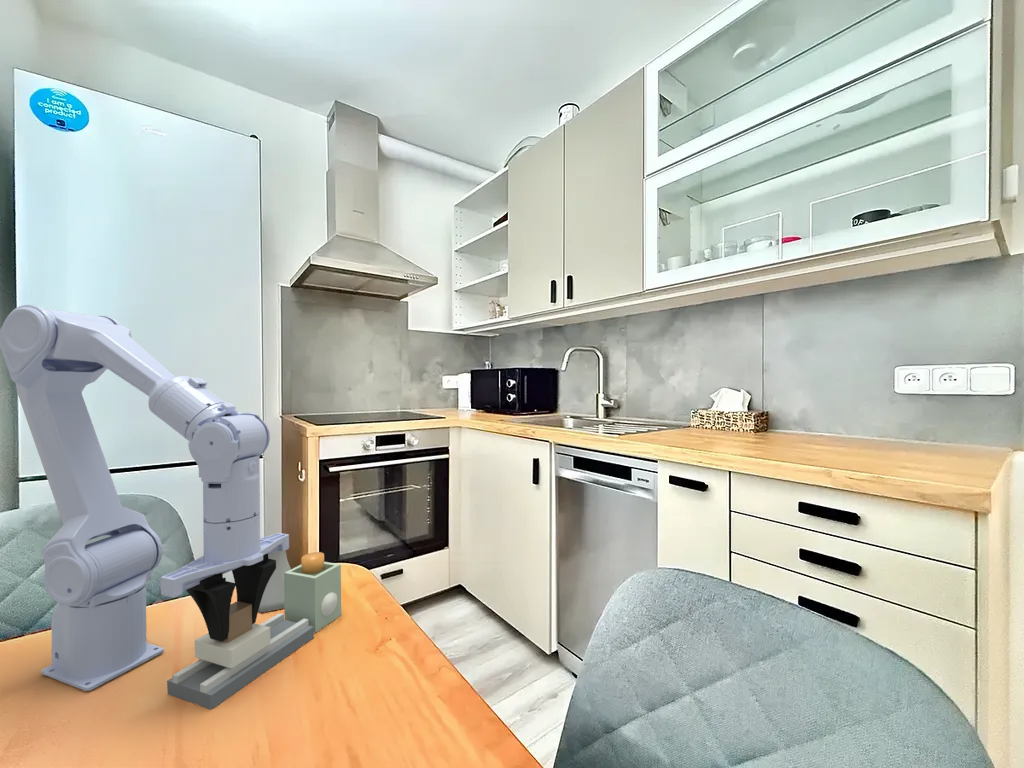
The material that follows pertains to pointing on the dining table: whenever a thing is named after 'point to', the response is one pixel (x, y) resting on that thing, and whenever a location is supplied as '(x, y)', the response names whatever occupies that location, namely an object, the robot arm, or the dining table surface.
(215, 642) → the carriage
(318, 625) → the cabinet
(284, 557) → the flask
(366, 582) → the dining table surface
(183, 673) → the rail track
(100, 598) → the robot arm
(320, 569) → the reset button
